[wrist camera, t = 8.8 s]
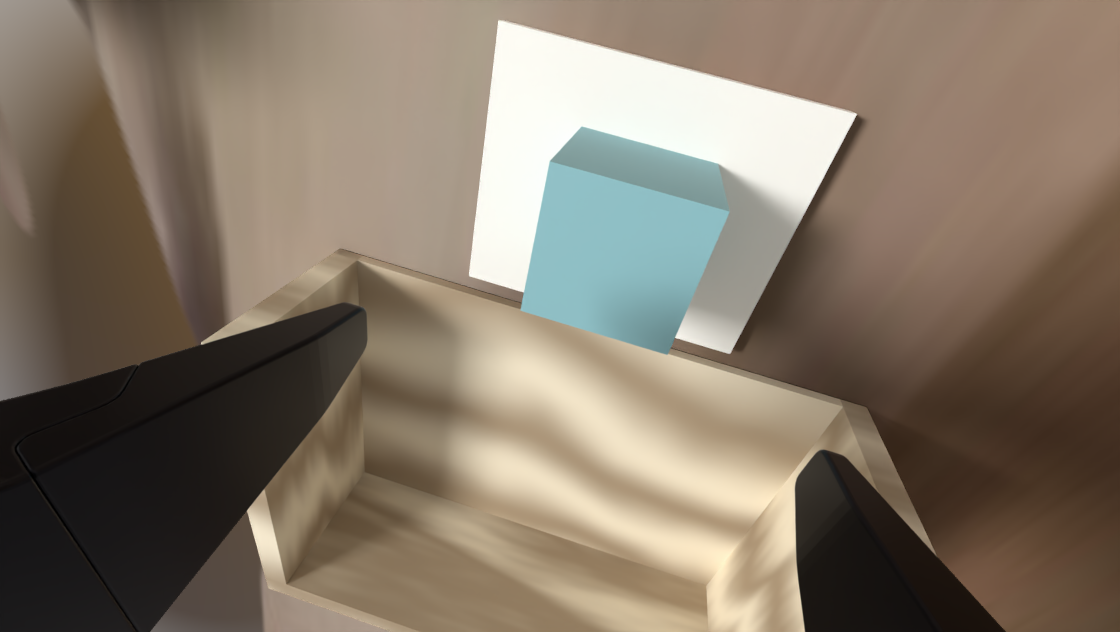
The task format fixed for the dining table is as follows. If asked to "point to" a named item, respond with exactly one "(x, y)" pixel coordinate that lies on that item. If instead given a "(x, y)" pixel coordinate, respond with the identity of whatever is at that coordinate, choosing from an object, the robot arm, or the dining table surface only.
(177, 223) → the dining table surface
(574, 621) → the birch crate
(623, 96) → the off-white mat
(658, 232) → the teal block
